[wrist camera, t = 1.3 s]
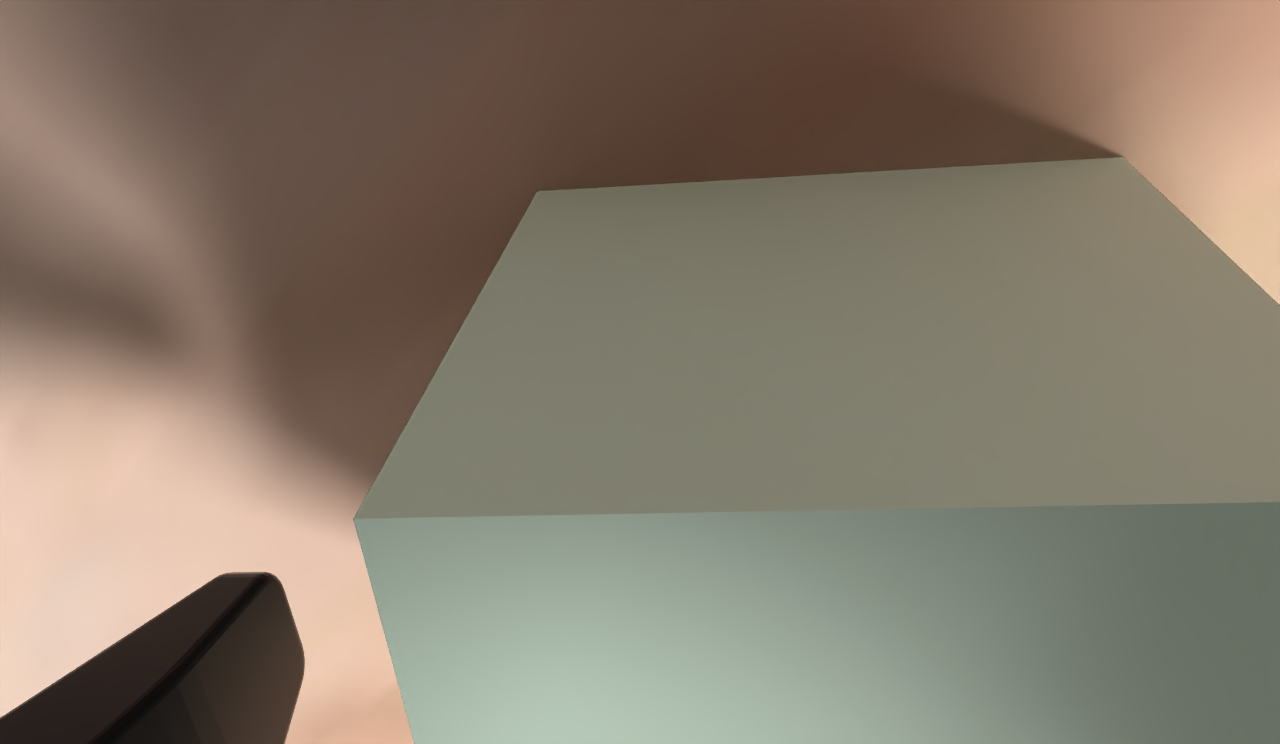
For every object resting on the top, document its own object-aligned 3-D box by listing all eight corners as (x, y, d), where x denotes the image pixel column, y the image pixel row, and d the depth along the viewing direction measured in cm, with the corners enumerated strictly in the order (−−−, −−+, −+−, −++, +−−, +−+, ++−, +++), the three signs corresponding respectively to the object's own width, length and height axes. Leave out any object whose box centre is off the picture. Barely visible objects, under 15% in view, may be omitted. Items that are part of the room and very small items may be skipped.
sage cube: (1118, 153, 9) (1484, 497, 4) (1061, 611, 11) (1262, 1132, 7) (539, 188, 9) (353, 518, 5) (599, 612, 12) (508, 1091, 7)
